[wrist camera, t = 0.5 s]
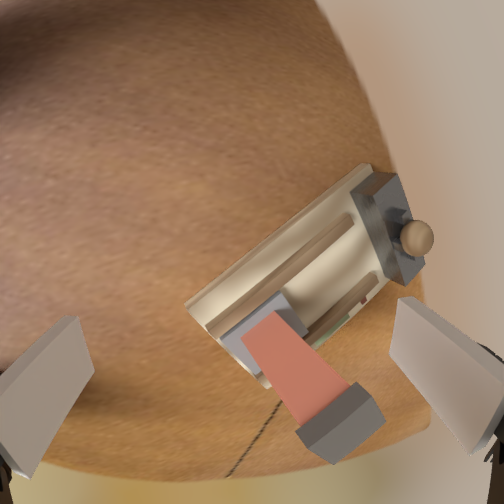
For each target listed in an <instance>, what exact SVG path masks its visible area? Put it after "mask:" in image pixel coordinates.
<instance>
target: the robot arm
mask: <svg viewBox="0 0 504 504" xmlns="http://www.w3.org/2000/svg"><path fill="white" fill-rule="evenodd" d="M389 355H390V357H391V358H392V359H393V360H394V361H395V363H396V364H397V365H398V366H399V367H400V369H401V370H402V371H403V372H404V374H405V375H406V376H407V377H408V378H409V380H410V381H411V382H412V383H413V385H414V386H415V387H416V388H417V389H418V391H419V392H420V393H421V394H422V396H423V397H424V398H425V399H426V401H427V402H428V403H429V404H430V406H431V407H432V408H433V409H434V411H435V412H436V413H437V414H438V416H439V417H440V418H441V419H442V421H443V422H444V423H445V425H446V426H447V427H448V429H449V430H450V431H451V432H452V434H453V435H454V436H455V438H456V439H457V440H458V442H459V443H460V444H461V446H462V447H463V448H464V450H465V451H466V452H467V454H468V455H469V456H470V455H472V454H474V453H475V452H477V451H479V450H480V449H482V448H484V447H485V446H486V445H487V443H488V442H489V440H490V438H491V437H492V435H493V434H495V435H496V436H497V438H498V439H497V440H496V442H495V443H494V445H493V446H492V448H491V449H490V451H489V452H488V454H487V455H486V457H485V459H484V462H487V460H488V459H489V458H490V456H491V455H492V454H493V458H492V460H491V461H490V462H493V463H492V473H491V481H490V488H489V494H488V500H487V504H504V361H502V358H500V357H499V356H497V355H495V353H494V352H493V351H491V350H490V349H489V348H487V347H485V346H483V345H481V344H479V343H476V342H475V341H474V340H472V339H470V337H468V336H467V335H466V334H464V333H463V332H462V331H460V330H459V329H457V328H456V327H455V326H454V325H452V324H451V323H449V322H448V321H447V320H445V319H444V318H443V317H441V316H440V315H438V314H437V313H436V312H434V311H433V310H431V309H430V308H429V307H427V306H426V305H425V304H423V303H422V302H420V301H419V300H418V299H416V298H415V297H413V296H410V297H403V298H398V303H397V310H396V317H395V323H394V329H393V335H392V341H391V346H390V351H389ZM94 372H95V370H94V367H93V364H92V361H91V358H90V355H89V352H88V348H87V345H86V342H85V338H84V335H83V332H82V328H81V324H80V321H79V317H78V316H65V315H64V316H63V317H62V318H61V319H60V320H59V321H57V322H56V323H55V324H54V325H53V326H52V327H51V328H50V329H49V330H47V331H46V332H45V333H44V334H43V335H42V336H41V337H40V338H39V339H38V340H37V341H36V342H34V343H33V344H32V345H31V346H30V347H29V348H28V349H27V350H26V351H25V352H24V353H23V354H22V355H21V356H20V357H19V358H18V359H17V360H16V361H15V362H14V363H13V364H12V365H11V366H10V367H9V368H8V369H7V370H6V371H5V372H4V373H2V374H0V504H13V501H12V497H11V493H10V488H9V484H8V479H7V474H6V472H5V469H4V468H3V467H2V464H3V463H4V461H5V462H6V463H7V464H8V465H9V467H10V468H11V469H12V470H13V472H14V473H17V474H19V475H21V476H23V477H25V478H28V479H31V478H32V475H33V474H34V472H35V470H36V468H37V466H38V464H39V463H40V461H41V459H42V457H43V455H44V454H45V452H46V450H47V448H48V447H49V445H50V443H51V441H52V440H53V438H54V436H55V434H56V433H57V431H58V429H59V428H60V426H61V424H62V423H63V421H64V419H65V418H66V416H67V414H68V413H69V411H70V410H71V408H72V406H73V405H74V403H75V401H76V400H77V398H78V397H79V395H80V394H81V392H82V390H83V389H84V387H85V386H86V384H87V383H88V381H89V379H90V378H91V376H92V375H93V373H94Z"/></svg>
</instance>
